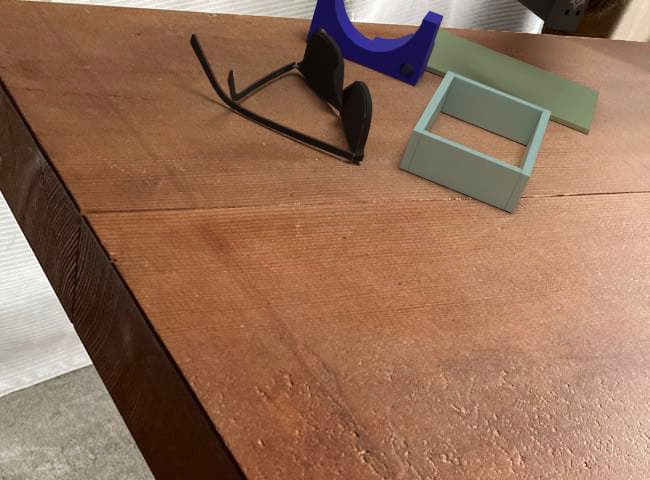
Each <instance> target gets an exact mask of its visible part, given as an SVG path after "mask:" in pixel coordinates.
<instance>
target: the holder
mask: <svg viewBox="0 0 650 480" xmlns="http://www.w3.org/2000/svg"><path fill="white" fill-rule="evenodd" d="M441 113H444V114H447V115H448V116H451V117H454V118H457V119H459V120H462V121H464V122H466V123H469V124H470V125H471V124H472V125H474V126H476V127H479V128H481V129H483V130H487V131H489V132H491V133H494V134H497V135H499V136H501V137H503V138H507V139H509V140H510V141H511V140H512V141H514V142H516V143H519V144H522V145H524V146H526V147H525V150H524V152H523V156H522V158H521V160H520V164H519V166H515V165H512V164H510V163H508V162H506V161H502V160H501V159H497V158H495V157H492V156H490V155H487V154H485V153H483V152H480V151H477V150H475V149H472V148H471V147H467V146H465V145H462V144H460V143H457V142H455V141H453V140H450V139H447V138H445V137H442V136H440V135H438V134H434V133H432V132H431V130H432V129H433V126H434V124H435V123H436V121H437V119H438V117H439V115H440V114H441ZM550 115H551V111H549V110H546V109H543V108H541V107H539V106H536V105H534V104H531V103H529V102H526V101H524V100H521V99H519V98H516V97H514V96H511V95H509V94H506V93H503V92H501V91H498V90H496V89H493V88H491V87H488V86H486V85H483V84H481V83H478V82H476V81H473V80H471V79H468V78H465V77H463V76H460V75H458V74H455V73H453V72H450V71H448V72H447V74H446V75H445V77H443V79H442V81H441V82H440V84H439V86H438V87H437V89H436V90H435V92H434V94H433V96H432V97H431V99H430V101H429V102H428V104H427V106H426V107H425V109H424V111H423V112H422V114H421V116H420V117H419V119H418V120H417V122H416V124H415V125H414V128H413V129H412V131H411V135H410V138H409V140H408V143H407V145H406V148H405V150H404V153H403V156H402V159H401V161H400V163H399V166H398V167H399V169H401V170H404V171H406V172H409V173H411V174H414V175H416V176H419V177H421V178H423V179H426V180H429V181H431V182H433V183H436V184H438V185H440V186H442V187H445V188H448V189H451V190H453V191H456V192H458V193H461V194H462V195H466V196H468V197H471V198H473V199H475V200H478V201H480V202H483V203H485V204H487V205H491V206H493V207H496V208H498V209H500V210H503V211H505V212H508V213H511V214H513V213H514V211H515V210H516V207H517V205H518V203H519V202H520V199H521V196H522V195H523V192H524V191H525V188H526V187H527V185H528V182H529V180H530V178H531V175H532V173H533V169H534V166H535V163H536V160H537V157H538V154H539V151H540V148H541V145H542V143H543V139H544V136H545V132H546V130H547V127H548V124H549V120H550V119H549V118H550Z"/></svg>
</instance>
